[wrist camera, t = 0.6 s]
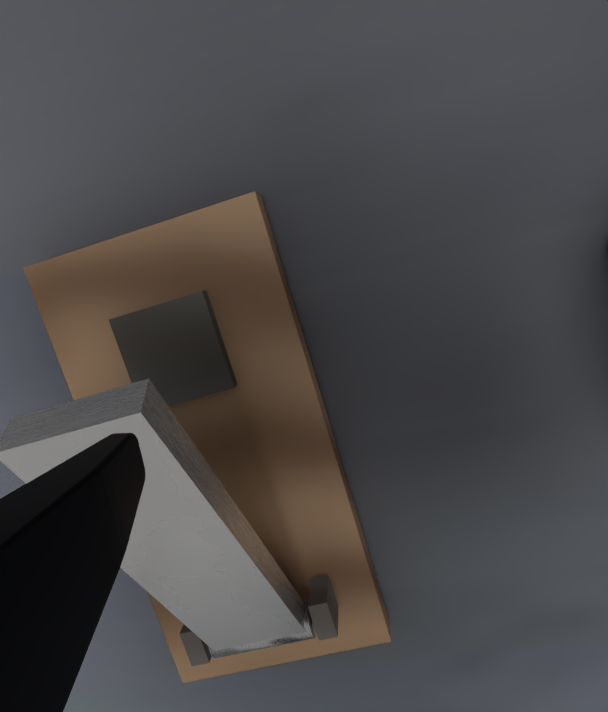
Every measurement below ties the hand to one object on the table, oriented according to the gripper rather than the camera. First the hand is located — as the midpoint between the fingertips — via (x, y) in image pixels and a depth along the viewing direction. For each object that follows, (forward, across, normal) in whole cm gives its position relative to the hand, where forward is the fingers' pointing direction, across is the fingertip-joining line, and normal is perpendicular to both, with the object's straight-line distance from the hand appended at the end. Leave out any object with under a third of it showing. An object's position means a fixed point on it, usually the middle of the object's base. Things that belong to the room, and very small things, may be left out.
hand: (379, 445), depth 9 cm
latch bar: (+6, +6, +8) cm, 11 cm away
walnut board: (+11, +6, +8) cm, 15 cm away
